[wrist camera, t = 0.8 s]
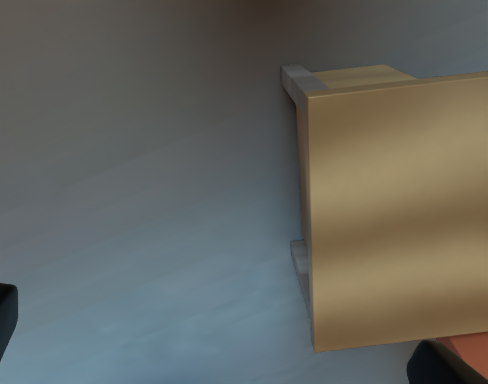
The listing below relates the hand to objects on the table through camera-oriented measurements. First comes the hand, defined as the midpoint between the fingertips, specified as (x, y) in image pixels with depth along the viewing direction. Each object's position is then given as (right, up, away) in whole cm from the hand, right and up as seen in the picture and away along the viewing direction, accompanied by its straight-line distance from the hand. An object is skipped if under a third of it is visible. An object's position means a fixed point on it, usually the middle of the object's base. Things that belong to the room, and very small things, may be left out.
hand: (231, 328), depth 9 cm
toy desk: (+10, +5, +14) cm, 18 cm away
